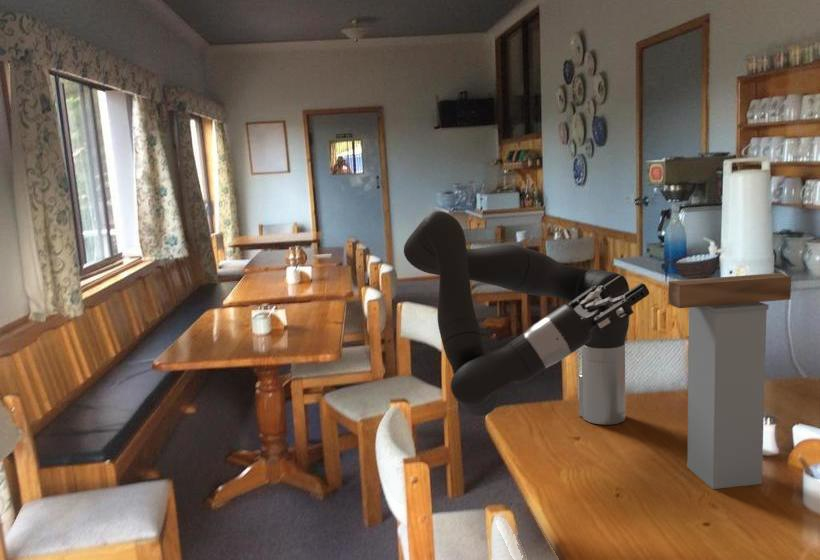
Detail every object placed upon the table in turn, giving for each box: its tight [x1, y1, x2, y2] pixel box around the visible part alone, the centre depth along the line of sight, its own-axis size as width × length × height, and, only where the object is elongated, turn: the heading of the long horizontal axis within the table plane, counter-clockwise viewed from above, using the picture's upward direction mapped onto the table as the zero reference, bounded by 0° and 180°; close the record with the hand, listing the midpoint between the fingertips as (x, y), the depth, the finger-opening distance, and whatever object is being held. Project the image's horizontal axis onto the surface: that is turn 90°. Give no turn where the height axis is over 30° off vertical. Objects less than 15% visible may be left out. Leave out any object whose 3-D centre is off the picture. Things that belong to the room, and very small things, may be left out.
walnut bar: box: [667, 272, 792, 309], centre depth 124 cm, size 4×20×4 cm, turn 96°
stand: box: [686, 302, 769, 490], centre depth 127 cm, size 9×9×32 cm
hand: (635, 283), depth 122 cm, fingers open, 8 cm apart
